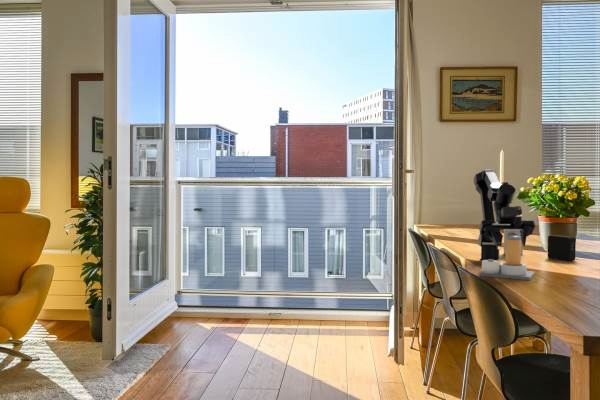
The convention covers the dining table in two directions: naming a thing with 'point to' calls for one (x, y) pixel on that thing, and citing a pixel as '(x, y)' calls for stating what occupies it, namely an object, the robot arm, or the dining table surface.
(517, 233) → the travel mug
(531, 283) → the dining table surface
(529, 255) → the dining table surface
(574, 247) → the electronic device
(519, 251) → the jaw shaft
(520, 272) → the housing
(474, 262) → the dining table surface
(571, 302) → the dining table surface
